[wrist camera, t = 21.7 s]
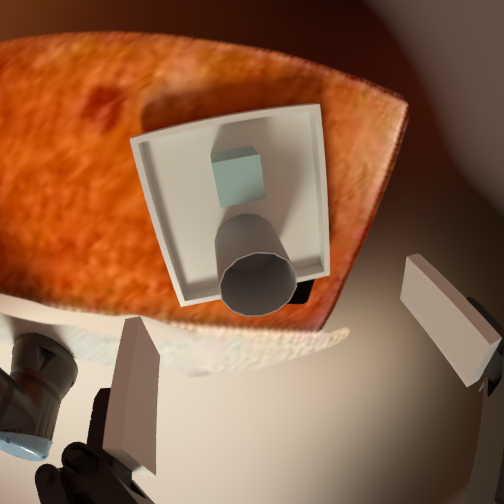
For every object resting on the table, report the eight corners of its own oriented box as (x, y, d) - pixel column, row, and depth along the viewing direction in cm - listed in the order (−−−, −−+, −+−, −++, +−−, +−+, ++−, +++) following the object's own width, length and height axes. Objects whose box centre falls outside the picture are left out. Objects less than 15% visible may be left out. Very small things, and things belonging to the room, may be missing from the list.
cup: (267, 204, 39) (286, 240, 30) (283, 256, 43) (304, 300, 34) (204, 227, 39) (206, 270, 30) (227, 277, 43) (234, 325, 35)
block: (218, 193, 37) (220, 207, 33) (210, 154, 35) (211, 163, 30) (258, 185, 37) (265, 198, 33) (252, 146, 35) (259, 154, 31)
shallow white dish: (181, 288, 46) (180, 306, 42) (137, 133, 34) (129, 138, 30) (319, 259, 47) (329, 275, 43) (307, 102, 35) (319, 104, 31)
